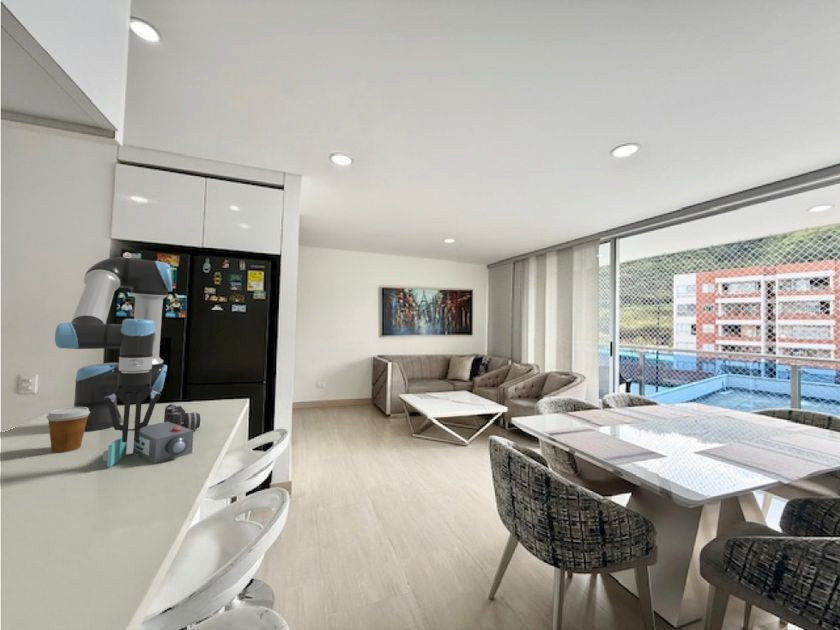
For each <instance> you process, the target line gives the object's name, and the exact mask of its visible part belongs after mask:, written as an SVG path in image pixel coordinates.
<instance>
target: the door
mask: <svg viewBox="0 0 840 630" xmlns="http://www.w3.org/2000/svg"><path fill="white" fill-rule="evenodd" d="M107 448H108V450H104V451H103V454H102V456H103V457H102V461H103V462H104V461H106V467H107V468H111V467H113V465H115V464H116V463H117V462H119V461H120V460H121V459H122V458H124V456H126V455H127V454H126V450H127V442H122V435H121V436H120V437H118V438H117V439H115V440H114V441H113V442H110V444H108V447H107Z"/></svg>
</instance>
